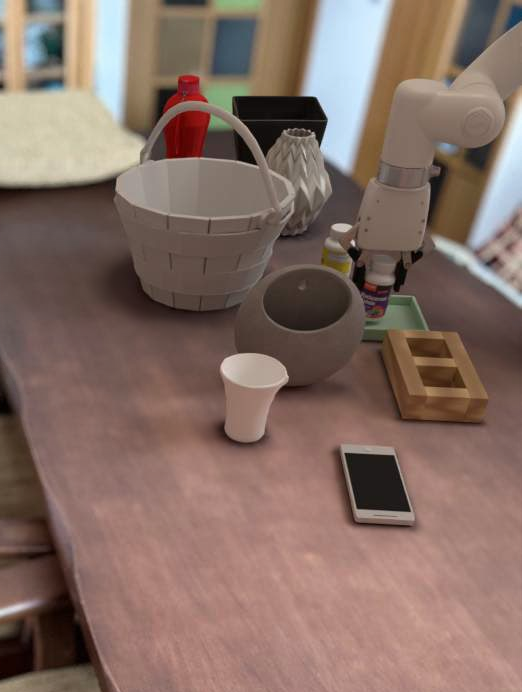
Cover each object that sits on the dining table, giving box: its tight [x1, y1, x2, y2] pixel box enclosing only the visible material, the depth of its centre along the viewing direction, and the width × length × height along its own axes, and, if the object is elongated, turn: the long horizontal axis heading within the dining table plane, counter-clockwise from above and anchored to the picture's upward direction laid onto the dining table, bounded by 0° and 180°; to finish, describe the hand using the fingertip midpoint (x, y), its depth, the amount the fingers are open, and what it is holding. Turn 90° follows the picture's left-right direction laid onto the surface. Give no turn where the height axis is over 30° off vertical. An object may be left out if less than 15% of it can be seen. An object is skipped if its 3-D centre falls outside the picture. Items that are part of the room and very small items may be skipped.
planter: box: [233, 263, 366, 387], centre depth 118 cm, size 18×7×19 cm, turn 87°
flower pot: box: [231, 95, 329, 166], centre depth 183 cm, size 19×19×17 cm
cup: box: [219, 353, 289, 443], centre depth 111 cm, size 9×9×10 cm
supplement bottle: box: [320, 223, 356, 279], centre depth 149 cm, size 5×5×10 cm
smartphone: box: [339, 443, 416, 526], centre depth 105 cm, size 7×16×1 cm, turn 176°
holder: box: [380, 329, 490, 424], centre depth 123 cm, size 11×20×4 cm, turn 176°
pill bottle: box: [359, 253, 397, 322], centre depth 136 cm, size 5×5×10 cm
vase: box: [265, 128, 333, 237], centre depth 164 cm, size 16×16×18 cm
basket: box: [113, 101, 296, 312], centre depth 139 cm, size 31×35×30 cm
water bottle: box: [162, 74, 212, 159], centre depth 171 cm, size 9×11×25 cm
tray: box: [361, 294, 430, 342], centre depth 139 cm, size 17×13×2 cm
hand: (376, 286), depth 136 cm, fingers closed on pill bottle, 5 cm apart
